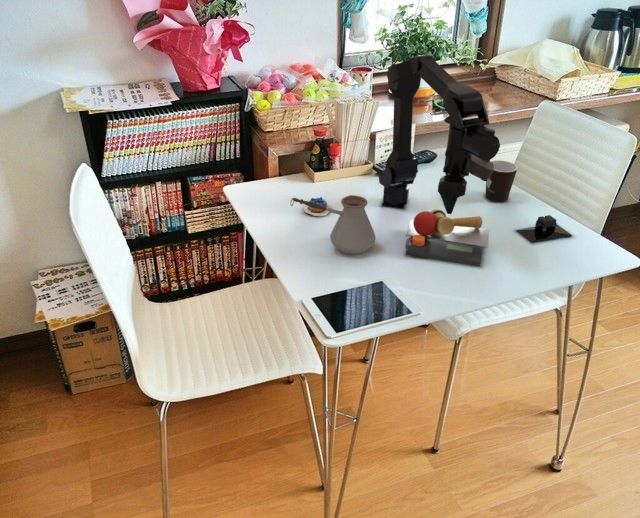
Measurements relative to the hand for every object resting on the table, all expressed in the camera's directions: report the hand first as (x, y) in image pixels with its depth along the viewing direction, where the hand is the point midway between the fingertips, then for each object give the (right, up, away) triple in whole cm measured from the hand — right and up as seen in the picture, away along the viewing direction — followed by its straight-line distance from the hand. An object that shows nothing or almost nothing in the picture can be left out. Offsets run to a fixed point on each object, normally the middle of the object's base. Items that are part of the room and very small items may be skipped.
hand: (451, 205), depth 147 cm
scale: (-1, -10, +4) cm, 11 cm away
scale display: (+1, -11, -3) cm, 11 cm away
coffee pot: (-29, -11, +3) cm, 31 cm away
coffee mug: (+20, +6, +30) cm, 36 cm away
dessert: (-33, 0, +21) cm, 39 cm away
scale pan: (0, -7, +4) cm, 8 cm away
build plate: (+27, -7, +10) cm, 29 cm away
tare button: (-8, -9, 0) cm, 13 cm away
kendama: (0, -6, +4) cm, 7 cm away
